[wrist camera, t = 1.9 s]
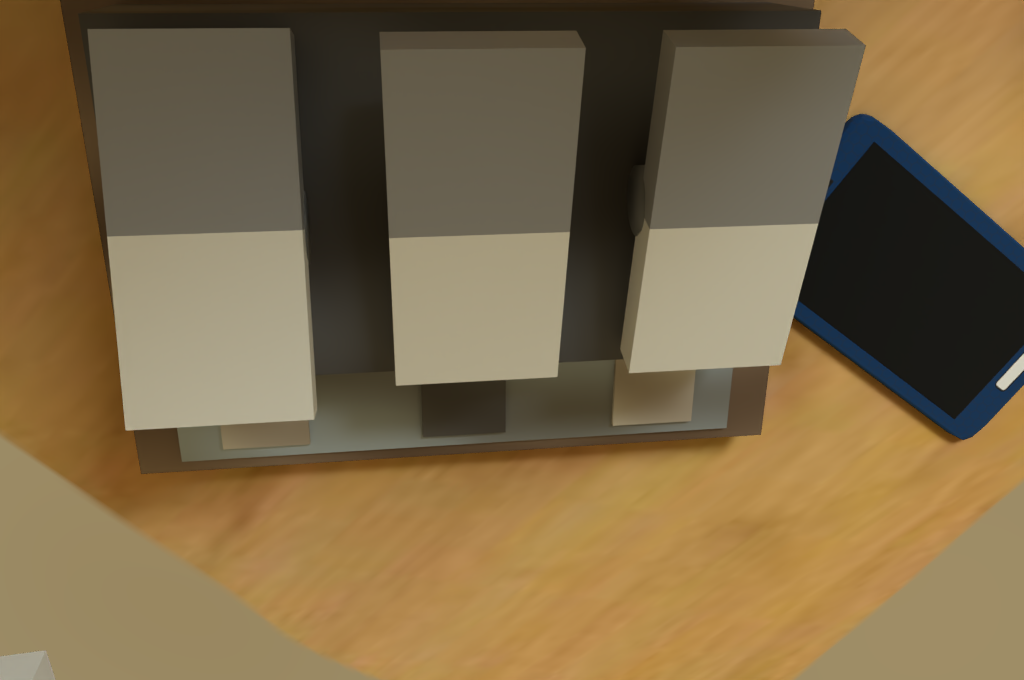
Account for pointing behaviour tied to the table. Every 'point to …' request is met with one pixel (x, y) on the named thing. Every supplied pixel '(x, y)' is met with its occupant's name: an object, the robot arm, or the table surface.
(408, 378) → the middle rocker
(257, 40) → the left rocker
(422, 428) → the switch console
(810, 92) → the right rocker
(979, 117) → the table surface
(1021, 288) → the cell phone
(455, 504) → the table surface
